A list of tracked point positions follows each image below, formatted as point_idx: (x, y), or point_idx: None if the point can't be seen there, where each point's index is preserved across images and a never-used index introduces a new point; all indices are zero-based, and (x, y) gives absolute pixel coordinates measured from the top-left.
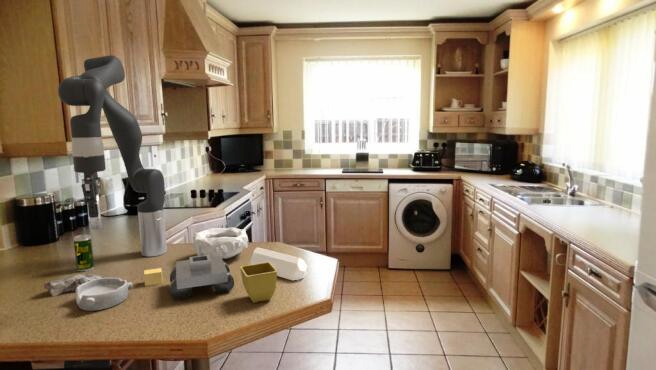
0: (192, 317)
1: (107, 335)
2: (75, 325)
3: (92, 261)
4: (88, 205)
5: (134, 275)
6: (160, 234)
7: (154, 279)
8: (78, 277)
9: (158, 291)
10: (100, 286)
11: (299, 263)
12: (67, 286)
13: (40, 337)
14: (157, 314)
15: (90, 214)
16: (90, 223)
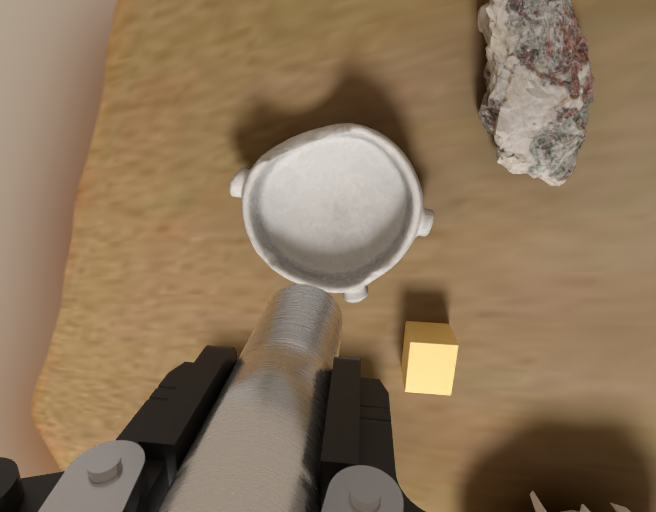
0: (136, 406)
1: (95, 231)
2: (179, 144)
3: None
4: (143, 437)
5: (542, 292)
6: None
7: (405, 357)
8: (512, 110)
9: (339, 352)
10: (404, 198)
11: None
12: (490, 68)
13: (130, 57)
14: (178, 340)
15: (171, 375)
16: (271, 309)
